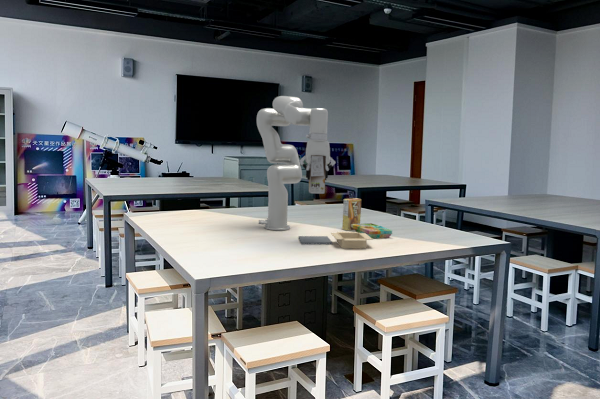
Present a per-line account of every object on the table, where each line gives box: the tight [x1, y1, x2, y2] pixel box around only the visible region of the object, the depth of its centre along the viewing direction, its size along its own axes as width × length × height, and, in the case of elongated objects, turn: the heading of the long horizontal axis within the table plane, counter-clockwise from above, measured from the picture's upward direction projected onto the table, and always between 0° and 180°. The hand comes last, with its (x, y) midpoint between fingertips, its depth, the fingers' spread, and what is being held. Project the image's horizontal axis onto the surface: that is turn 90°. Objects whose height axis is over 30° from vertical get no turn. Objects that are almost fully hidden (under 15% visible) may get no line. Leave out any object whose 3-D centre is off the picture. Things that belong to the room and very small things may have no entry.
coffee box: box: [308, 155, 326, 195], centre depth 214 cm, size 9×6×16 cm
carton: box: [330, 231, 374, 249], centre depth 211 cm, size 15×18×4 cm
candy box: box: [341, 197, 362, 231], centre depth 249 cm, size 9×4×15 cm, turn 129°
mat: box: [298, 235, 333, 245], centre depth 217 cm, size 13×13×1 cm
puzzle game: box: [351, 222, 393, 239], centre depth 237 cm, size 12×5×20 cm
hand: (316, 179), depth 214 cm, fingers closed on coffee box, 6 cm apart
